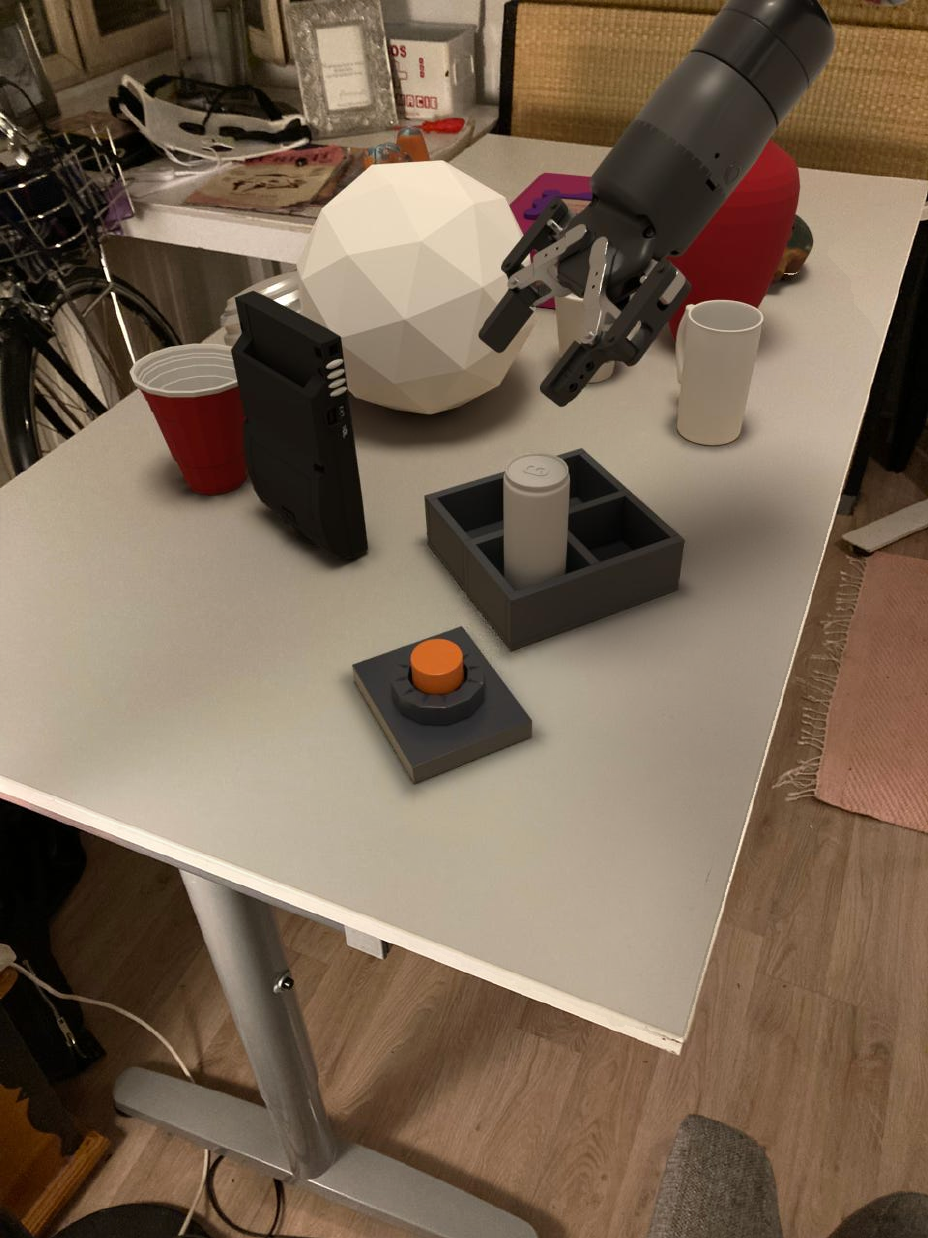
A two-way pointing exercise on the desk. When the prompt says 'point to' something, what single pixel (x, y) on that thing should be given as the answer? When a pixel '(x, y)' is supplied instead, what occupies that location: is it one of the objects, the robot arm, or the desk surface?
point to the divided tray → (595, 560)
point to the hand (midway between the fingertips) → (517, 371)
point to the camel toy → (399, 149)
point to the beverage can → (535, 519)
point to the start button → (437, 667)
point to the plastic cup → (197, 412)
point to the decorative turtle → (795, 250)
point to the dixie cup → (575, 329)
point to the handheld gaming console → (299, 424)
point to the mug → (715, 368)
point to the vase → (743, 237)
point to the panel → (441, 710)
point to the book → (540, 195)
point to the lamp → (406, 284)
